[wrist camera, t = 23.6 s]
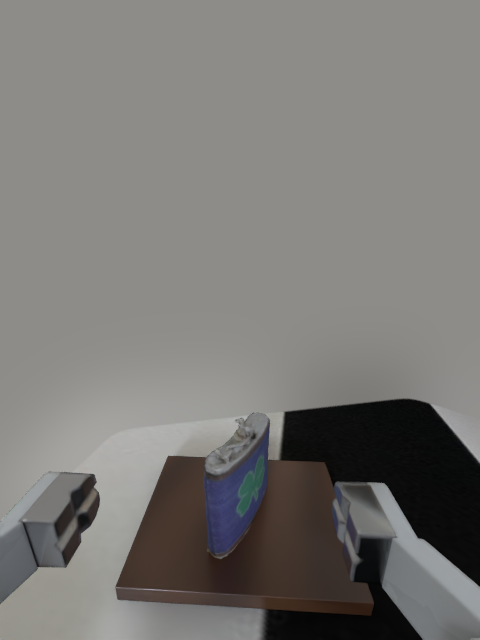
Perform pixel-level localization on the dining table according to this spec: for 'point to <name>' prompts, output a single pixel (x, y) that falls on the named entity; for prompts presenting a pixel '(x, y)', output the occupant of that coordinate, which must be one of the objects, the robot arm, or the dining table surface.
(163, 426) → the dining table surface
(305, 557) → the cutting board
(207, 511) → the flask
